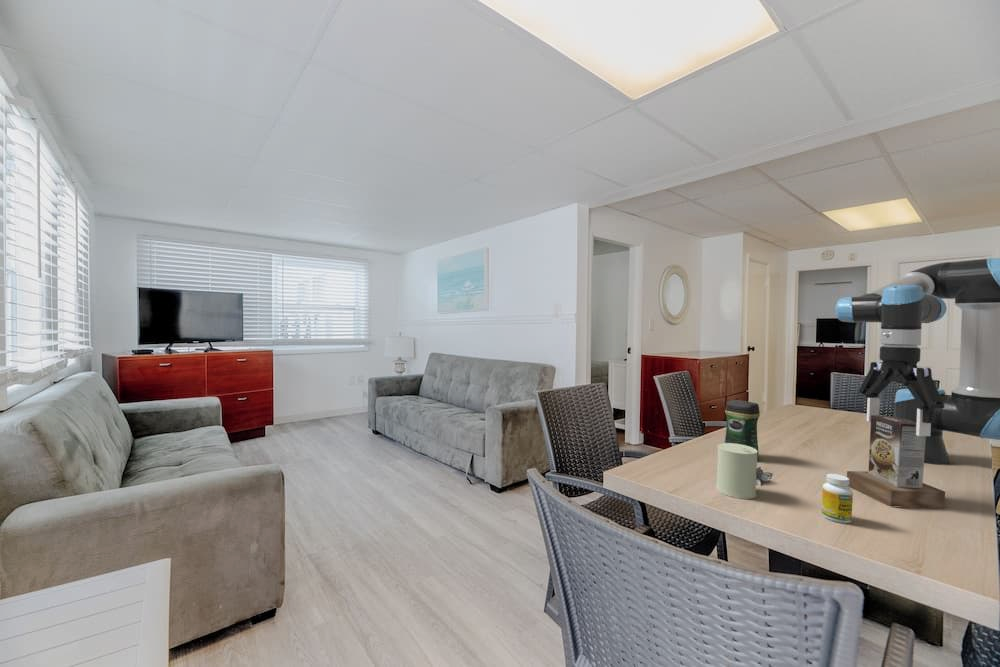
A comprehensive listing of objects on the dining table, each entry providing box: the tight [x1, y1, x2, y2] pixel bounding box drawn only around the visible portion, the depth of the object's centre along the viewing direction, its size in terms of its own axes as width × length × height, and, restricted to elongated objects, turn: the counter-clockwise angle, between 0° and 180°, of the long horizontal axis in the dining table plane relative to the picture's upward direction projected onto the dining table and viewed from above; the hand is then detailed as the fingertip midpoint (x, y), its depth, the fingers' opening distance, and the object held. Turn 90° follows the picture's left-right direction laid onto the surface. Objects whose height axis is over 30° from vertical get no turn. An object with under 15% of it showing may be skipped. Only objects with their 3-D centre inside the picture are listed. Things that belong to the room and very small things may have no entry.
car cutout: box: [756, 466, 774, 486], centre depth 118 cm, size 15×7×4 cm, turn 127°
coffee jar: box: [724, 399, 761, 459], centre depth 137 cm, size 10×8×19 cm
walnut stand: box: [846, 470, 946, 509], centre depth 107 cm, size 13×13×4 cm
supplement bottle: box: [821, 473, 854, 524], centre depth 94 cm, size 5×5×10 cm
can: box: [715, 442, 759, 500], centre depth 108 cm, size 9×9×12 cm
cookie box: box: [867, 414, 926, 488], centre depth 107 cm, size 9×6×16 cm
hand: (896, 428), depth 107 cm, fingers open, 13 cm apart
